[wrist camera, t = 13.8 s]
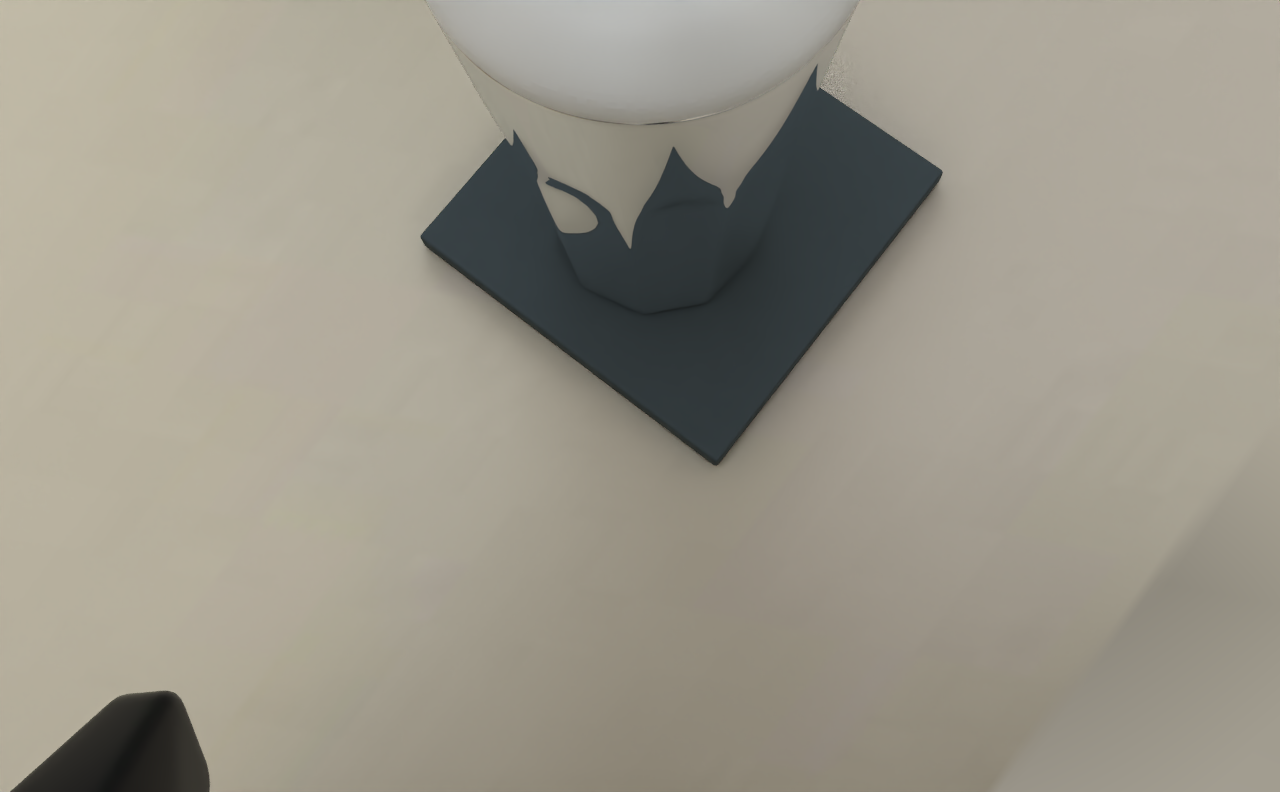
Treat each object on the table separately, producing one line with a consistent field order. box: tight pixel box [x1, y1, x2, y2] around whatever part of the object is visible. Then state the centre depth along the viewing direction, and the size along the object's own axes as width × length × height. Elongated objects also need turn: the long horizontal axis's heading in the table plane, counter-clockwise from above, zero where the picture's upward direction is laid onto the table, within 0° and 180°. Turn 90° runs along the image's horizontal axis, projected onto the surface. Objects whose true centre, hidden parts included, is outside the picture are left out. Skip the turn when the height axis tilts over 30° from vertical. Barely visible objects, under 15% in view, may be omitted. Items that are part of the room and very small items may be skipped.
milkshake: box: [425, 0, 860, 315], centre depth 14 cm, size 4×5×10 cm
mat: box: [421, 88, 943, 465], centre depth 19 cm, size 6×6×1 cm
